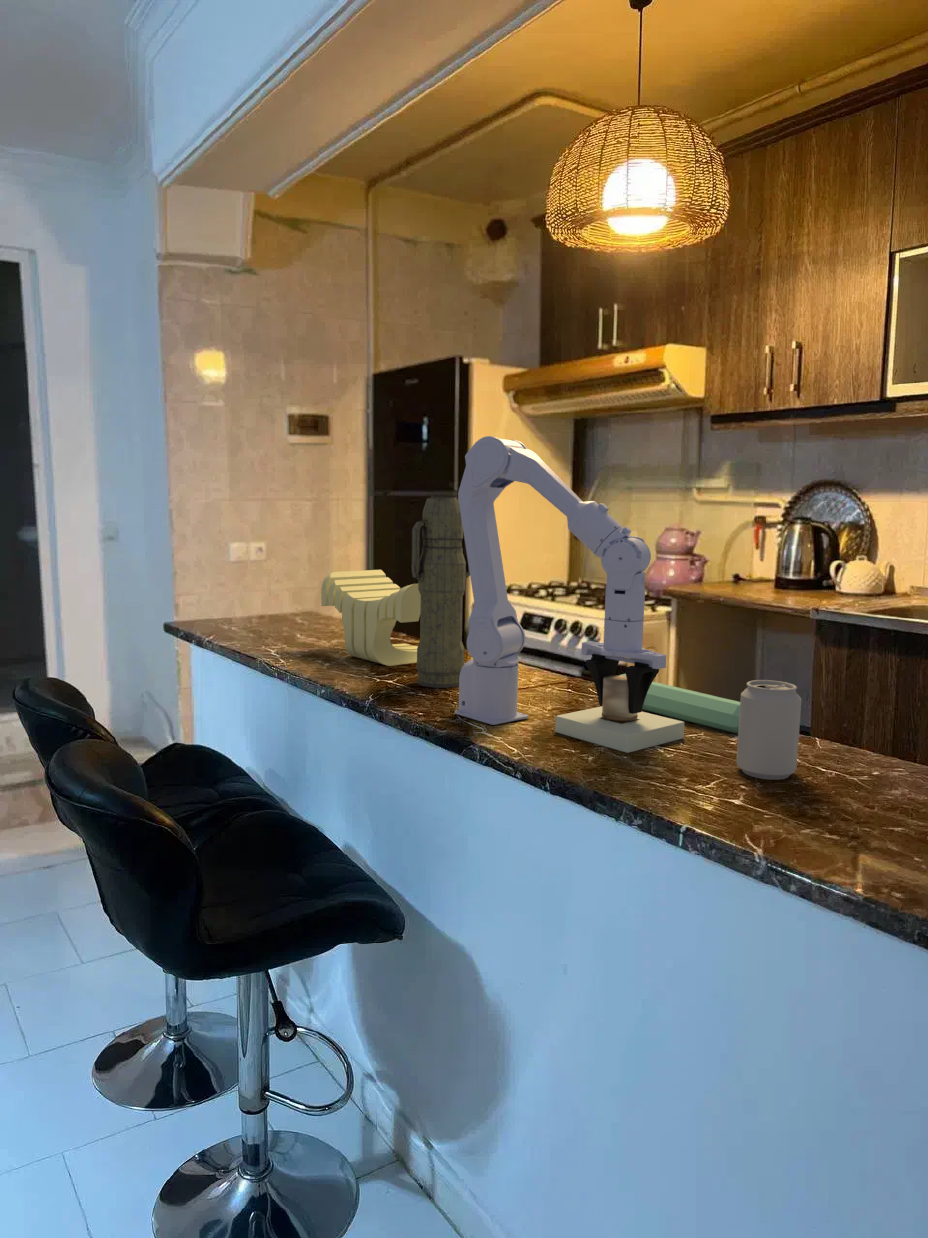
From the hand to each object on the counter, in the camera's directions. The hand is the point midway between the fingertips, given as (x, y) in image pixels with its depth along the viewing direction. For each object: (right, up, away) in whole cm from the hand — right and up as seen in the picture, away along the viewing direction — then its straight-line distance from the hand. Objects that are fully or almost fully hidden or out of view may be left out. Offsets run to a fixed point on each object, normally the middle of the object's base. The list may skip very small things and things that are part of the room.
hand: (620, 708), depth 136 cm
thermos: (-28, +1, +36) cm, 45 cm away
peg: (0, -3, 0) cm, 3 cm away
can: (+16, -7, -17) cm, 24 cm away
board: (0, -4, +1) cm, 4 cm away
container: (+12, -3, +12) cm, 18 cm away
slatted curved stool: (-39, +5, +60) cm, 72 cm away
